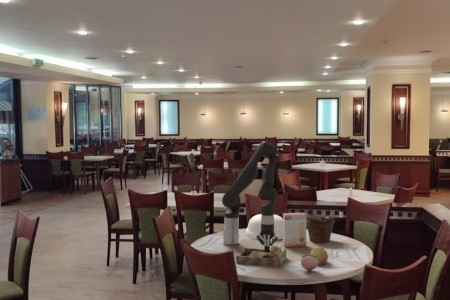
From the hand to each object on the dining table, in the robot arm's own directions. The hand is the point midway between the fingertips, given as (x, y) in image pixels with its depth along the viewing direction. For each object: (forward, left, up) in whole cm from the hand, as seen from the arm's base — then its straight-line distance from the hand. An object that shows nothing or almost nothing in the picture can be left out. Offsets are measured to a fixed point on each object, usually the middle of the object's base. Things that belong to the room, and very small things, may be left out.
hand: (267, 252), depth 287 cm
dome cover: (-13, +58, -5) cm, 59 cm away
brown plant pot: (+24, +52, -4) cm, 57 cm away
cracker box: (+10, +34, -4) cm, 36 cm away
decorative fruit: (+26, -14, -4) cm, 30 cm away
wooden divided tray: (-2, -3, -4) cm, 6 cm away
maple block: (+5, 0, -1) cm, 5 cm away
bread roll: (+29, +4, -5) cm, 30 cm away
